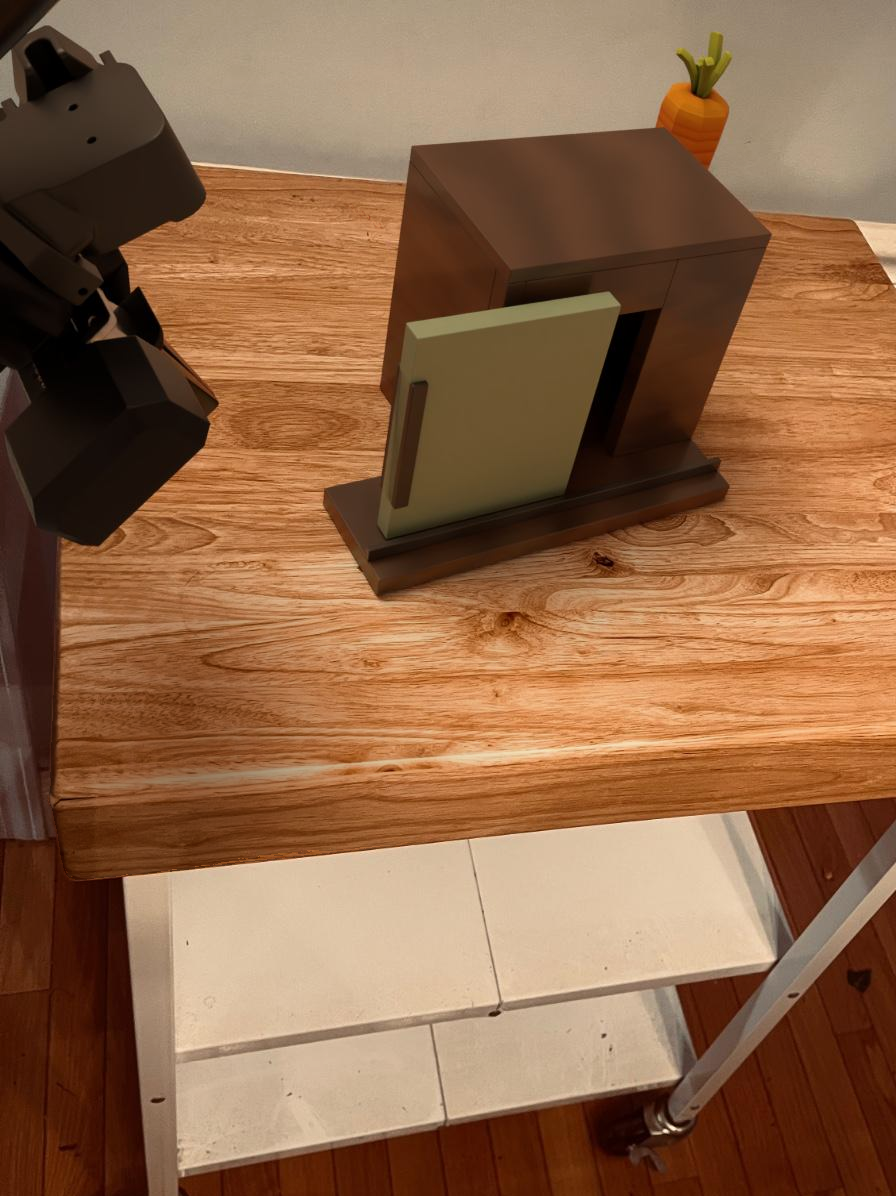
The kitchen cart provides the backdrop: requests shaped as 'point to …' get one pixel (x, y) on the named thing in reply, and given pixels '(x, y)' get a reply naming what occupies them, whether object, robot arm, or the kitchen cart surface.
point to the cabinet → (562, 270)
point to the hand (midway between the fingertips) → (209, 406)
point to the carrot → (698, 103)
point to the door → (490, 409)
